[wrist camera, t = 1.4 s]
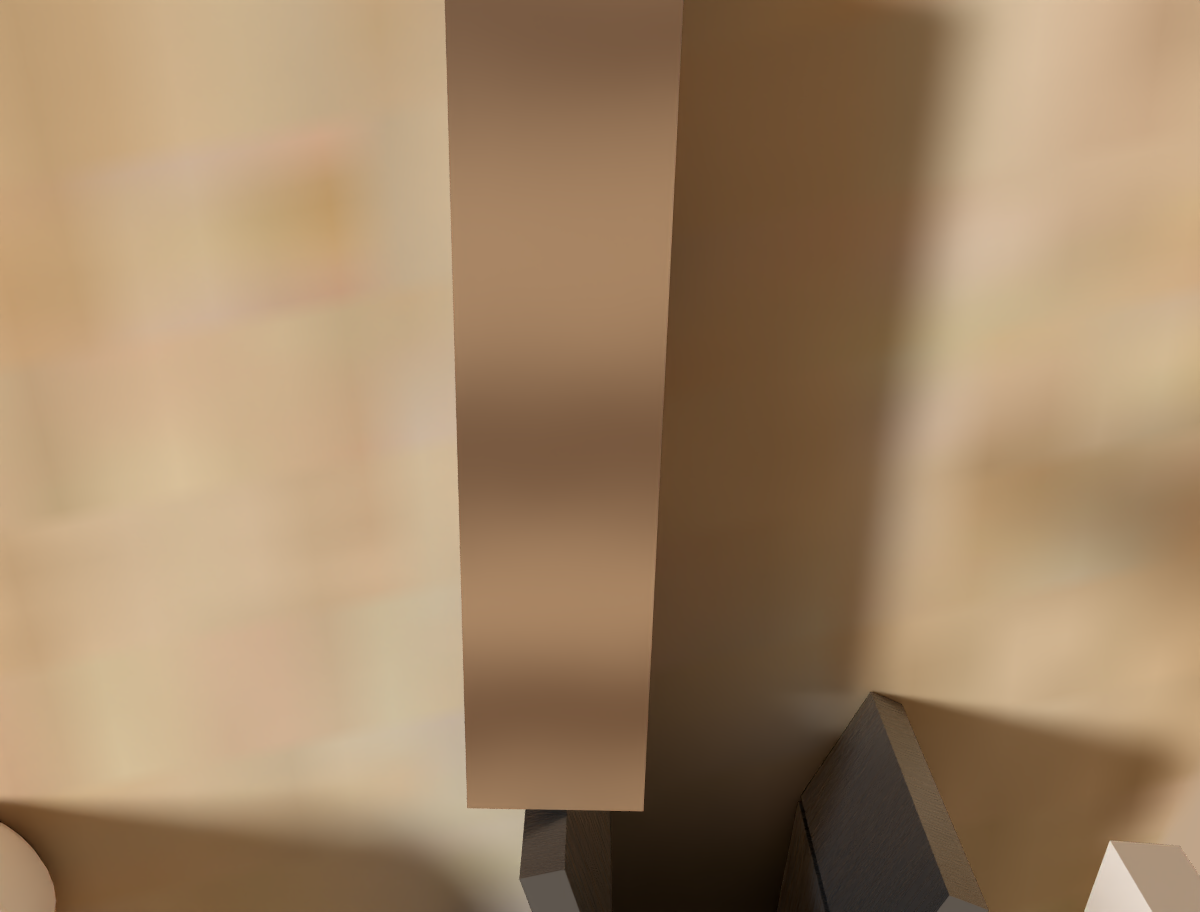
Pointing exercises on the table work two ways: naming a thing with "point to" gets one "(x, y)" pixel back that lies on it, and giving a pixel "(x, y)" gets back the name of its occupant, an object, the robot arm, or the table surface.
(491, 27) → the slat
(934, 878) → the endcap
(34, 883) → the cup
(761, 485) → the table surface
